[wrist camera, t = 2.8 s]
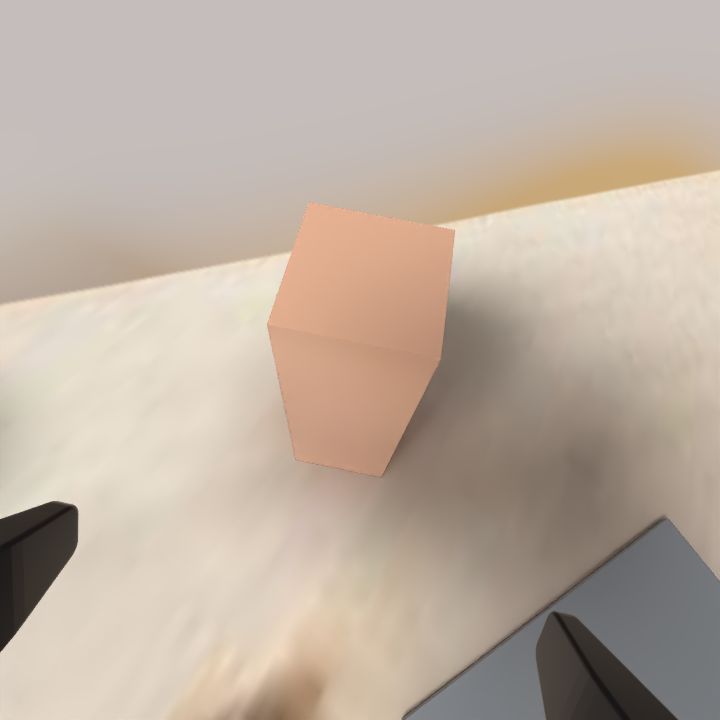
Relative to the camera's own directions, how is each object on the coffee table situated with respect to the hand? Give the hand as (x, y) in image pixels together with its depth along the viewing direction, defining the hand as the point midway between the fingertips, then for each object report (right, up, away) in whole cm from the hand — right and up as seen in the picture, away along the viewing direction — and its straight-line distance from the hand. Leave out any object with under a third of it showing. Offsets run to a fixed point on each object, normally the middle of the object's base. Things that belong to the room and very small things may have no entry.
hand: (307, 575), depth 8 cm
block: (0, 0, +15) cm, 16 cm away
